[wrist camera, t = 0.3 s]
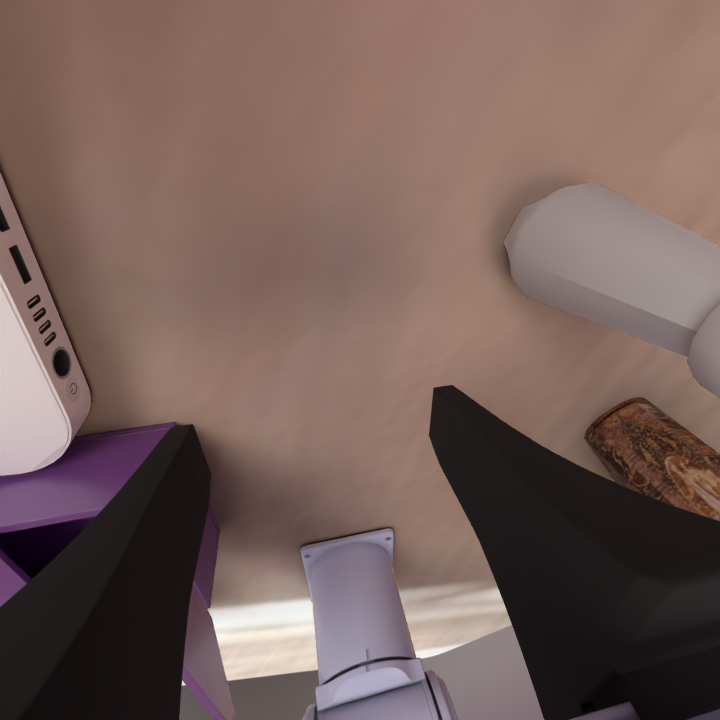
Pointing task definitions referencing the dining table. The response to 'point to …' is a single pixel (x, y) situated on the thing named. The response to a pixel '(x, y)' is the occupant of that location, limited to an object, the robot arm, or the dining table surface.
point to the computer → (33, 359)
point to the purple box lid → (205, 662)
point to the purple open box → (78, 505)
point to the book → (657, 457)
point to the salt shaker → (622, 271)
